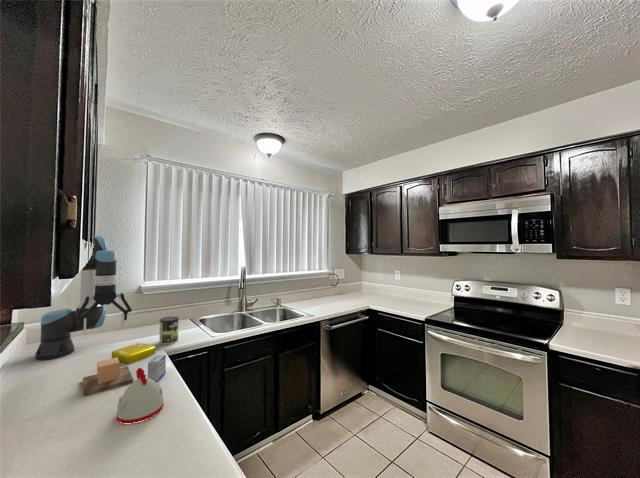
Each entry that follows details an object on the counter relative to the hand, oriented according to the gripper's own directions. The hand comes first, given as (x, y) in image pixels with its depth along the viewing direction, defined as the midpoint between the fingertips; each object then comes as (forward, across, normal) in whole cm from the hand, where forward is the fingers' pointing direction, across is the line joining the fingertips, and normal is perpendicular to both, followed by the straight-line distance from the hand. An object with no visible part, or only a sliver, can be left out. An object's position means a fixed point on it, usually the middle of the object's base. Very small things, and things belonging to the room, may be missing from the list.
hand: (104, 330), depth 123 cm
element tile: (+21, +14, +15) cm, 30 cm away
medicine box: (+20, +18, -20) cm, 33 cm away
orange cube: (+18, +1, -9) cm, 21 cm away
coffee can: (+21, +33, +27) cm, 48 cm away
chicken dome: (+19, +8, -44) cm, 48 cm away
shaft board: (+20, +1, -9) cm, 22 cm away
